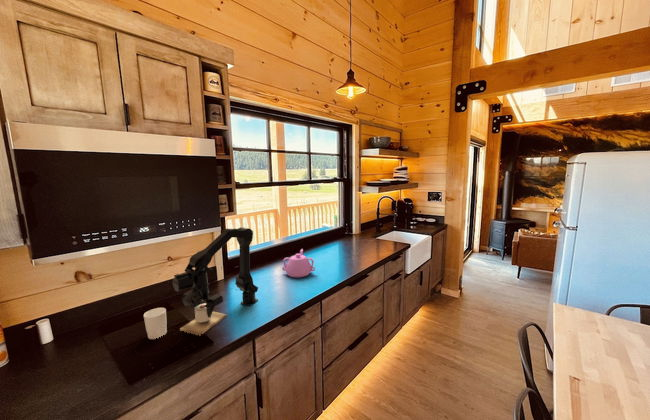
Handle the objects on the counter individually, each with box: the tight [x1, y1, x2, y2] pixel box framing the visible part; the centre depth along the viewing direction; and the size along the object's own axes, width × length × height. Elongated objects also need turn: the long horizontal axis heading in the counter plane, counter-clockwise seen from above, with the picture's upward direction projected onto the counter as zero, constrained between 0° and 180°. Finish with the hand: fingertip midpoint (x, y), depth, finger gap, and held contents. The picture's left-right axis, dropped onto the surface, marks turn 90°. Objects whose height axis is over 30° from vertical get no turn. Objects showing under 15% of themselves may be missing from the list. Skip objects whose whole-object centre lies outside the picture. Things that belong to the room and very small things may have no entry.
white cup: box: [143, 307, 168, 340], centre depth 111 cm, size 8×8×10 cm
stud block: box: [179, 311, 227, 337], centre depth 119 cm, size 16×11×5 cm
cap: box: [194, 302, 212, 323], centre depth 118 cm, size 7×7×6 cm
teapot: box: [281, 248, 316, 278], centre depth 176 cm, size 22×22×14 cm
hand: (203, 316), depth 119 cm, fingers closed on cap, 6 cm apart
